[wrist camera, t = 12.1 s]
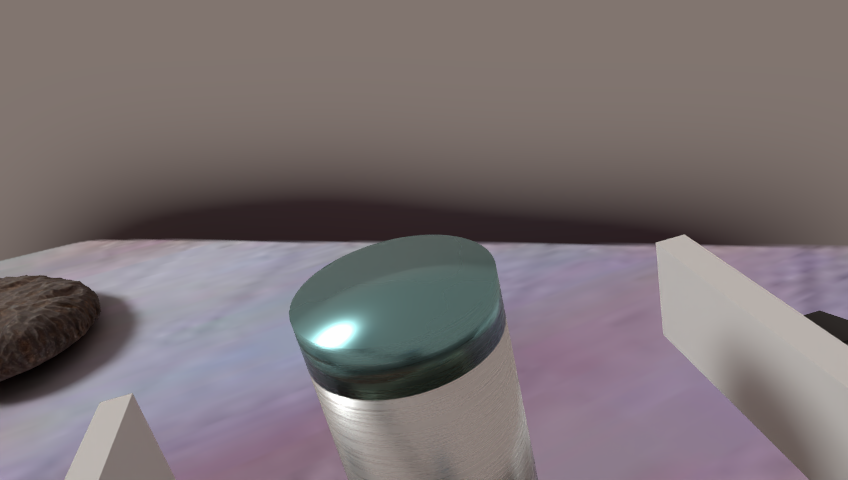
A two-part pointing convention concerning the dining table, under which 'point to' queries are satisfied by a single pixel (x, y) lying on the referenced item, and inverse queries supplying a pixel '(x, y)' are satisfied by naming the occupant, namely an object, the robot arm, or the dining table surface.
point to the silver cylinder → (415, 362)
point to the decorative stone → (41, 319)
